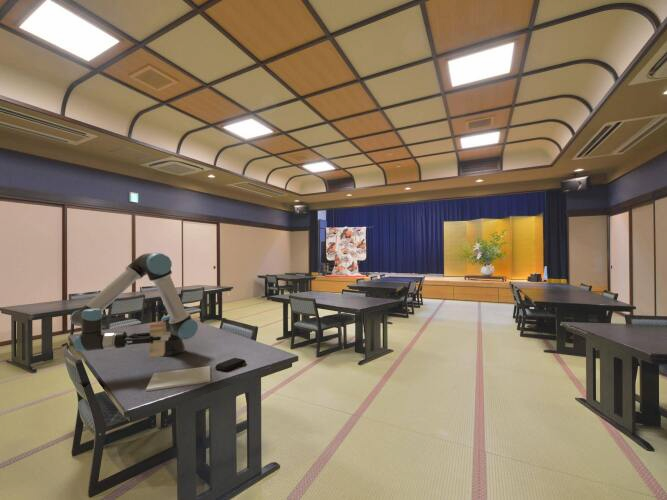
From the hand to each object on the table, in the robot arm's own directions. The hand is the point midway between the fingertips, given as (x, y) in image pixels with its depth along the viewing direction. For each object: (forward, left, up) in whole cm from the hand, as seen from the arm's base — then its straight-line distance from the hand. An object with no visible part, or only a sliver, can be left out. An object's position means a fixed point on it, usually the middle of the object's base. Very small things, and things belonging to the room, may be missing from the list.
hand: (169, 335), depth 156 cm
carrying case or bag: (-10, +29, -19) cm, 36 cm away
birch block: (+2, -5, -9) cm, 10 cm away
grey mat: (+8, +12, -18) cm, 23 cm away
